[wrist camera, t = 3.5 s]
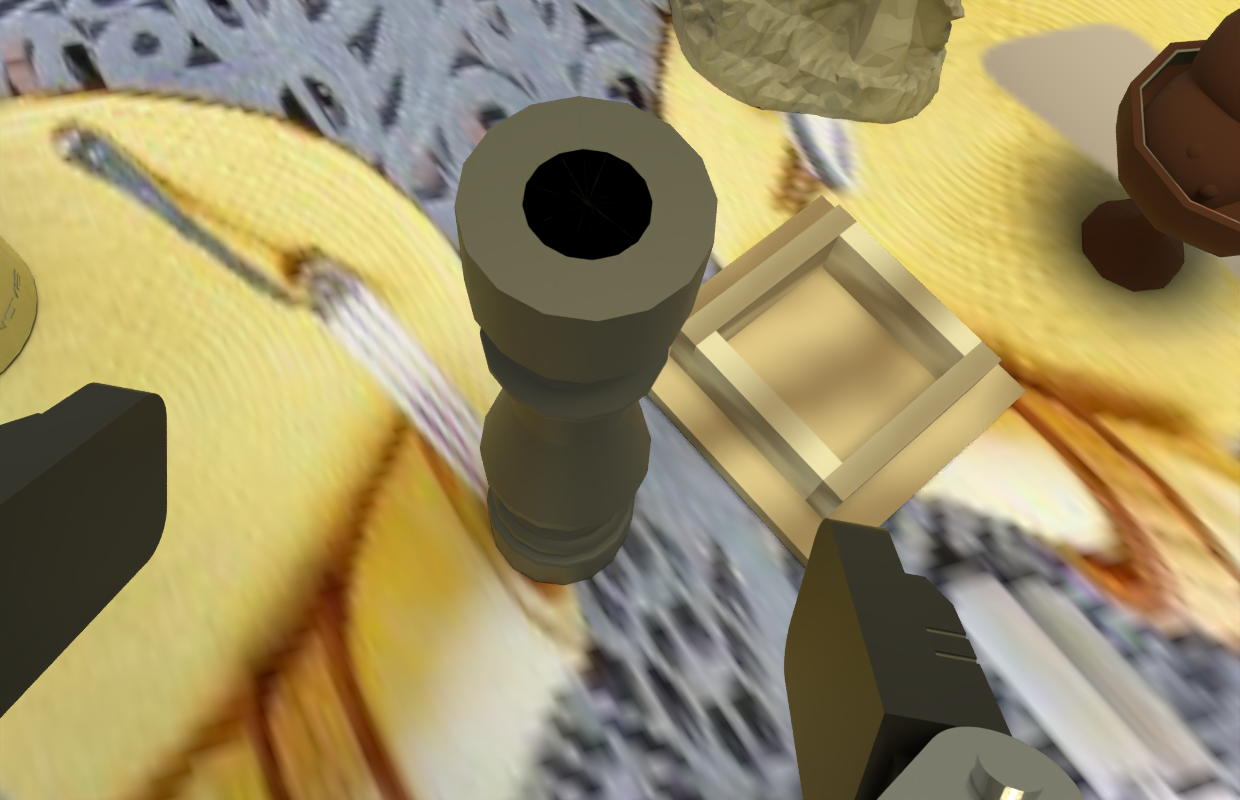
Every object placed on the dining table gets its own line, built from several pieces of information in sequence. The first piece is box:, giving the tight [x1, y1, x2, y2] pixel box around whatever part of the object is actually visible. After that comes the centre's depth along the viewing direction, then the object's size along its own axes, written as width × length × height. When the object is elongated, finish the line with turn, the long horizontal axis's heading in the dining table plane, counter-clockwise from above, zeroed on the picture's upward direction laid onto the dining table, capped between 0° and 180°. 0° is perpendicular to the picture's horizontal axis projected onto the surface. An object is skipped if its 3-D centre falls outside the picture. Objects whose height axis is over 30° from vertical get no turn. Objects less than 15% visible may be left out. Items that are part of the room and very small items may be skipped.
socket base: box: [647, 196, 1026, 568], centre depth 46 cm, size 14×14×4 cm
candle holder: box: [455, 96, 717, 585], centre depth 33 cm, size 6×6×25 cm
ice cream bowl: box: [1082, 8, 1240, 291], centre depth 46 cm, size 11×11×15 cm
